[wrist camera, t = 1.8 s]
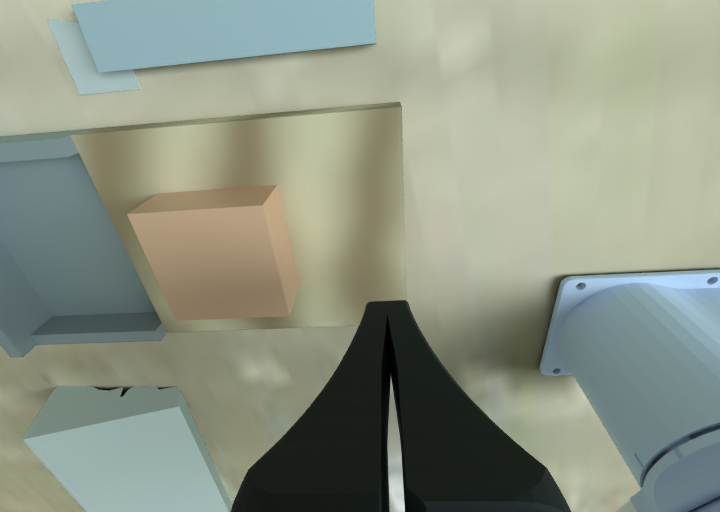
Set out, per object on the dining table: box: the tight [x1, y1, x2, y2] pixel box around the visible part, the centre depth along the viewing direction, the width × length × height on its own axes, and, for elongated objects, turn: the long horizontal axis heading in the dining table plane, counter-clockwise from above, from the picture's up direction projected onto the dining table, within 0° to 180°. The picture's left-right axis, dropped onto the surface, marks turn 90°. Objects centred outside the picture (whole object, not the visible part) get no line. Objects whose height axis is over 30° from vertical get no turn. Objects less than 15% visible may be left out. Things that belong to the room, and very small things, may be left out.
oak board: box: [71, 102, 406, 333], centre depth 19 cm, size 15×12×2 cm
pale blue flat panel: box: [46, 0, 376, 95], centre depth 15 cm, size 14×4×1 cm, turn 95°
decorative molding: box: [22, 386, 232, 512], centre depth 35 cm, size 34×5×10 cm
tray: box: [0, 129, 166, 357], centre depth 19 cm, size 9×12×3 cm
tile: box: [127, 185, 299, 321], centre depth 17 cm, size 6×6×2 cm
